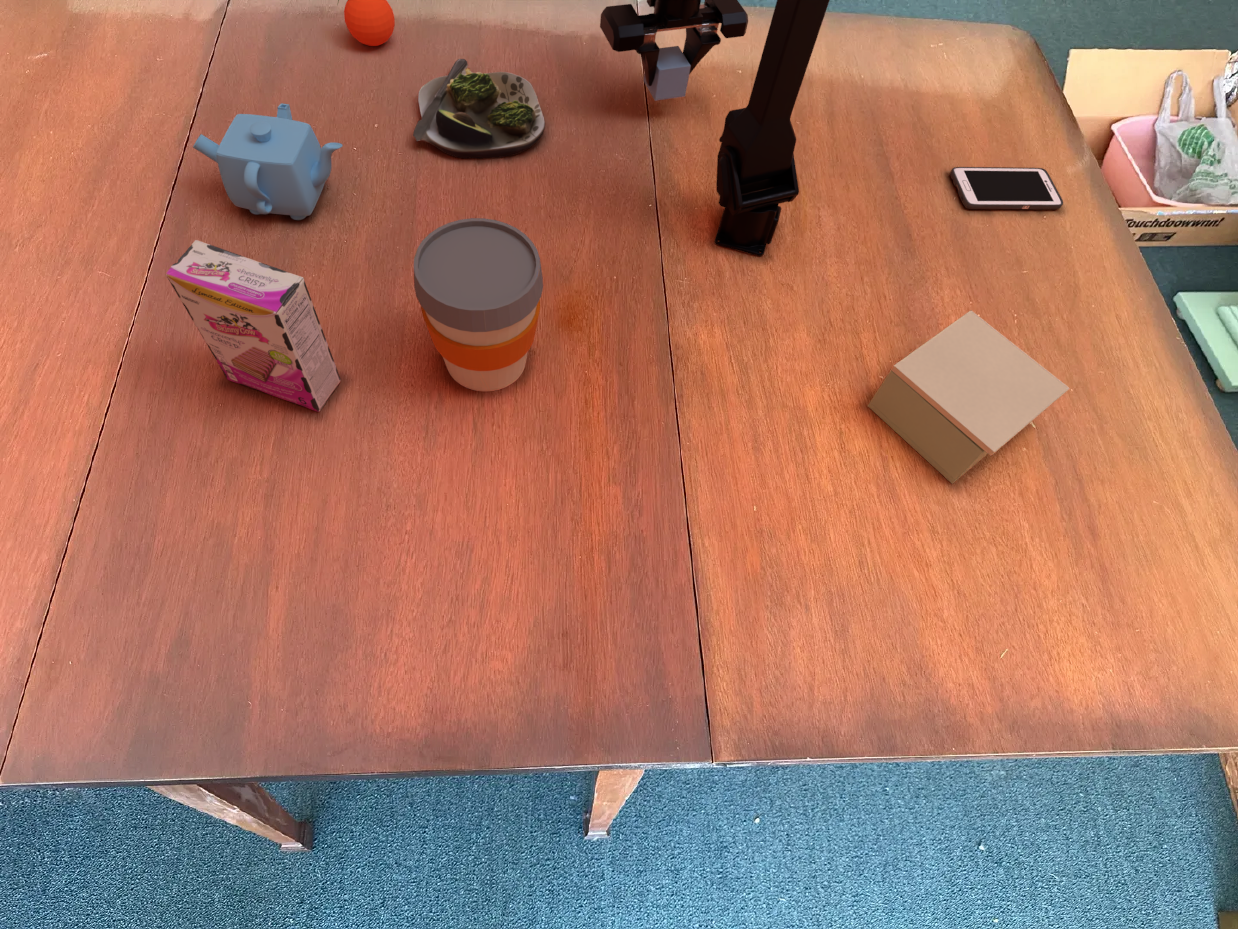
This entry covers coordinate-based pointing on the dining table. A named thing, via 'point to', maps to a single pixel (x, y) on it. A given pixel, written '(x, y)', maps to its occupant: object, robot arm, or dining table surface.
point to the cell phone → (1005, 188)
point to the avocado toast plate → (479, 113)
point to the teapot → (271, 163)
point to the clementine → (369, 20)
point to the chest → (925, 428)
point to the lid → (980, 381)
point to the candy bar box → (257, 324)
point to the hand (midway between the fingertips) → (665, 81)
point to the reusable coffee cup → (480, 299)
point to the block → (670, 74)
